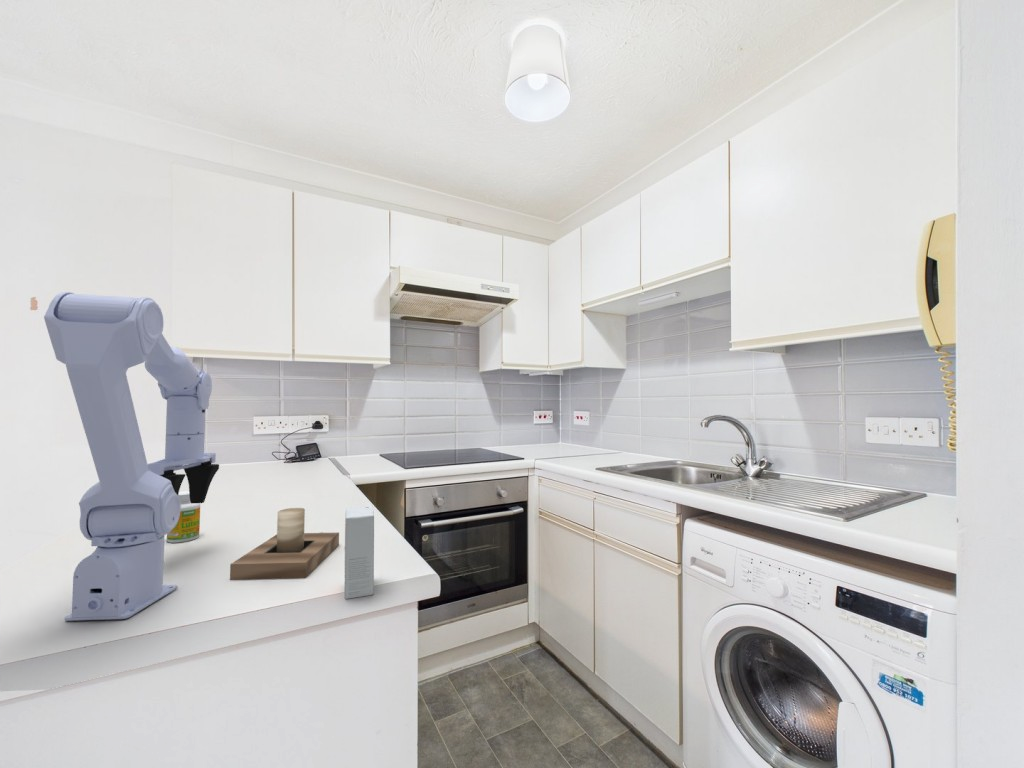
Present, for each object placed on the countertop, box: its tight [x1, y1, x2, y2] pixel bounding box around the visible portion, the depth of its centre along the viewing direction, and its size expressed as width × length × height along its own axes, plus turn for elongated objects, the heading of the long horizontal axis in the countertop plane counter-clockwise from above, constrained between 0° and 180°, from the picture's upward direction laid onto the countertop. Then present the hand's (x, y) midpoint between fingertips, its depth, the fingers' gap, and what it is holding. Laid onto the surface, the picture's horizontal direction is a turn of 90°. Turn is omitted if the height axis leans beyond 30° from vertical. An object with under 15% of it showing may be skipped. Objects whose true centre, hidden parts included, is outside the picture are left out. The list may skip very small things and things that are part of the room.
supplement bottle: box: [166, 490, 201, 544], centre depth 88 cm, size 5×5×10 cm
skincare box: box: [344, 505, 375, 600], centre depth 65 cm, size 6×4×12 cm
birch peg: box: [276, 507, 306, 553], centre depth 76 cm, size 4×4×9 cm
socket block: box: [229, 532, 340, 581], centre depth 76 cm, size 16×12×2 cm
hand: (183, 508), depth 76 cm, fingers open, 7 cm apart
